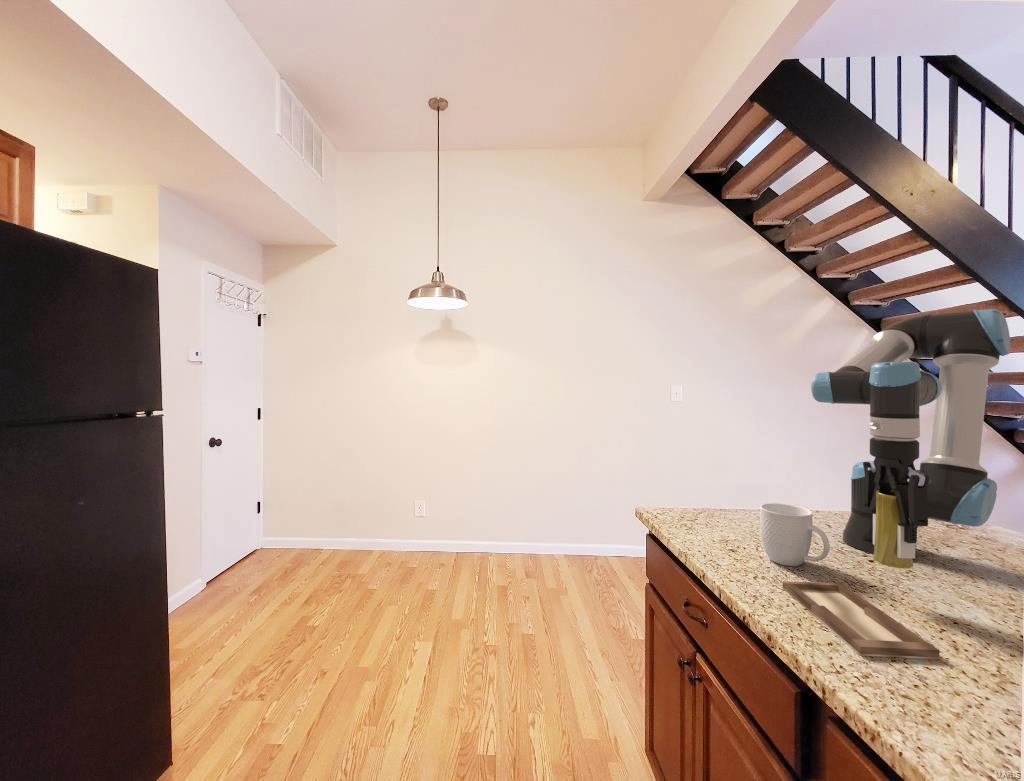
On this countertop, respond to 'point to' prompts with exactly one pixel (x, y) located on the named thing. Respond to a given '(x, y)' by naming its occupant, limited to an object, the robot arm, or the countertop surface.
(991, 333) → the robot arm
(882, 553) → the vase
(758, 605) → the countertop surface
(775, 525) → the mug
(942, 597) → the countertop surface
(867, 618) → the shallow serving tray
